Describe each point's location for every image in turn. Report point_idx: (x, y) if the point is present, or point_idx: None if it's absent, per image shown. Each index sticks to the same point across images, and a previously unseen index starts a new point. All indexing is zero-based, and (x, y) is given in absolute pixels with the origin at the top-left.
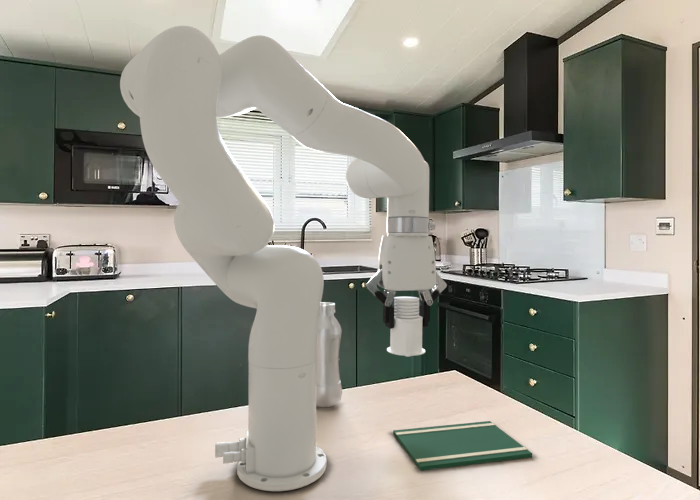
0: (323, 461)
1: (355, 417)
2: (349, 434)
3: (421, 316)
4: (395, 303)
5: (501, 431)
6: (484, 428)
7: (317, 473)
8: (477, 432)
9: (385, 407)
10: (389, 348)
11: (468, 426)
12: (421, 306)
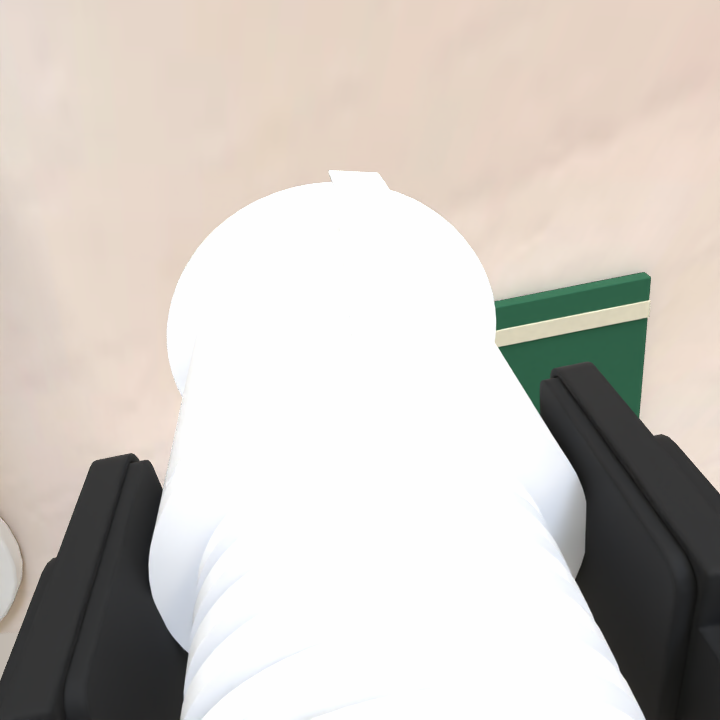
0: (7, 572)
1: (55, 190)
2: (56, 356)
3: (582, 542)
4: (209, 695)
5: (637, 362)
6: (591, 340)
7: (6, 613)
8: (548, 371)
9: (215, 53)
10: (192, 311)
11: (539, 331)
12: (653, 656)
